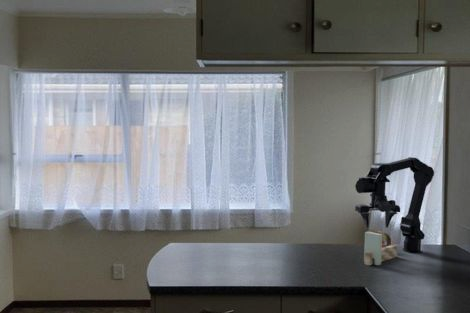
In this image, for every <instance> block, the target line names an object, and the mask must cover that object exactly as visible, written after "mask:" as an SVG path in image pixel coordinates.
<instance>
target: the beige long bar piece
mask: <svg viewBox="0 0 470 313" xmlns="http://www.w3.org/2000/svg"><path fill="white" fill-rule="evenodd" d="M395 258H398V245H397V244H391V245H390V246H386V247H383V248H382V253H381V263H382V262H384V261H388V260H391V259H395ZM374 263H375V259H374V258H372V252H365V262H364V265H365V266H372V265H374Z"/></svg>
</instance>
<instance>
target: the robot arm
mask: <svg viewBox="0 0 470 313" xmlns="http://www.w3.org/2000/svg"><path fill="white" fill-rule="evenodd" d="M406 169H409V170H410V171H411V172H412V173H413V181H414V188H413V191H412V194H411V195H412V196H411V200H410V203H409V208H408V211H407V214H406V215H405V216H402V217H400V218H401V219H400V222H399V226H400V227H399V229H400V231H401V234H402V236H403V237H404V240H403V248H402V250H403V251H404V252H407V253H410V254H411V253H423V250H422V247H421V246H422V240H424V238H425V237H426V235H425V233H424V232H423V230H421V224H422V223H421V220H420V215H421V214H420V213H421V210H422V206H423V201H424V197H425V194H426V191H427V187H428V185H429V184H430V183H431V182H432V180H433V178H434V176H435V170H434V168H433V167H432V166H429V165H428V164H427V163H424V162H423V161H421V160H420V159H419V158H417V157H411V156H408V157H407V158H403V159H399V160H395V161H391V162H387V163H386V162H377V163H376V162H375V163H372V164H371V166H370V169H369V170H368V172H367V173H366V174H365V176H364V177H363V176H361V177H360V176H359V177H358V180H357V181H356V183H355V185H354V186H355V187H354V188H355V191H356V192H357V193H358V194H369V195H370V197H371V201H370V203H369V205H367V204H356V206H355V207H354V208H355V210H354V211H356V212H357V213H359V214H360V215H361V217H362V220H363V222H364V225H365V227H366V229H369V222H370V221H369V220H370V219H369V217H370V211H379V212H381V213H384V219H385V220H384V221H385V222H384V223H385V228H387V229H388V228H389V225H390V223H391V221H392V219H393V217H394V216H395V215H398V213H401V207H400V205H398V204H396V200H394V199H390V200H388V197H387V195H386V186H387V185H386V183H390V182H391V180H390V179H388V176H390V175H391V174H393V173H394V172H398V171H402V170H406Z"/></svg>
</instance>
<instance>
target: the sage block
mask: <svg viewBox="0 0 470 313" xmlns="http://www.w3.org/2000/svg"><path fill="white" fill-rule="evenodd" d="M365 252H372V258H374V259H375V263H374V264H373V265H375V266H380V265H382V262H381V253H382V234H379V233H373V232H367V231H365V232H364V252H363V262H364V263H365Z"/></svg>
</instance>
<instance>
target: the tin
mask: <svg viewBox="0 0 470 313" xmlns="http://www.w3.org/2000/svg"><path fill="white" fill-rule="evenodd" d="M366 232H373V233H379V234H382V248H383V247H386V246H390V245H392V239H391V236H390V235H389V233H387V232H383V231H379V230H375V229H369V230H367V231H366Z"/></svg>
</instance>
